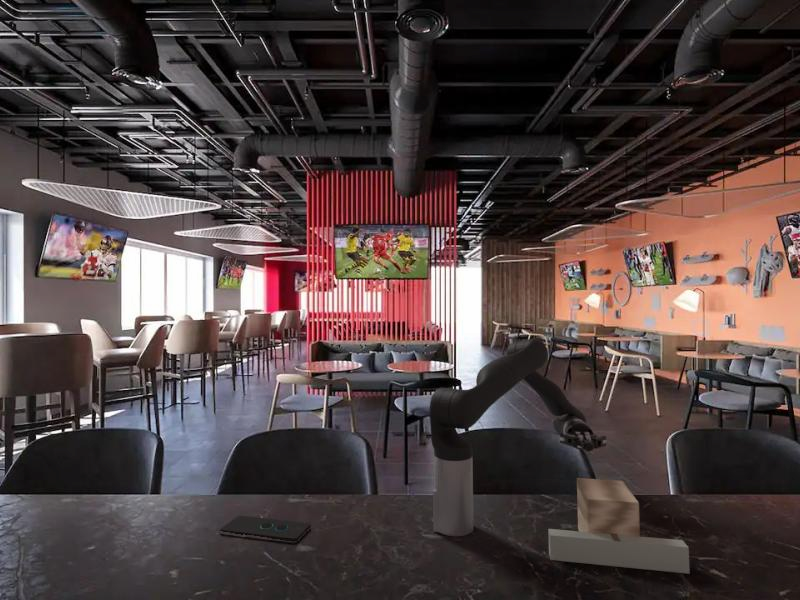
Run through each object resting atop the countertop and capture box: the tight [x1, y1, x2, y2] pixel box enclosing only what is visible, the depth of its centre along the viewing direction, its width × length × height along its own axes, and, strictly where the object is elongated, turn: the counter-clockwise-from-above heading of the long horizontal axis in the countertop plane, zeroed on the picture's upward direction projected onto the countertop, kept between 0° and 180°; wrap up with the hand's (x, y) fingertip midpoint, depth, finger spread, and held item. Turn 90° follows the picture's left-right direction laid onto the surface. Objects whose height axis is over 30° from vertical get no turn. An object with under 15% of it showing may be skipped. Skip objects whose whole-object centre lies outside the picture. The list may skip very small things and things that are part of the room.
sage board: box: [547, 528, 691, 574], centre depth 92 cm, size 26×3×5 cm, turn 78°
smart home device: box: [219, 515, 312, 542], centre depth 107 cm, size 8×2×20 cm
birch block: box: [576, 477, 641, 537], centre depth 100 cm, size 10×13×12 cm
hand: (588, 447), depth 118 cm, fingers closed
